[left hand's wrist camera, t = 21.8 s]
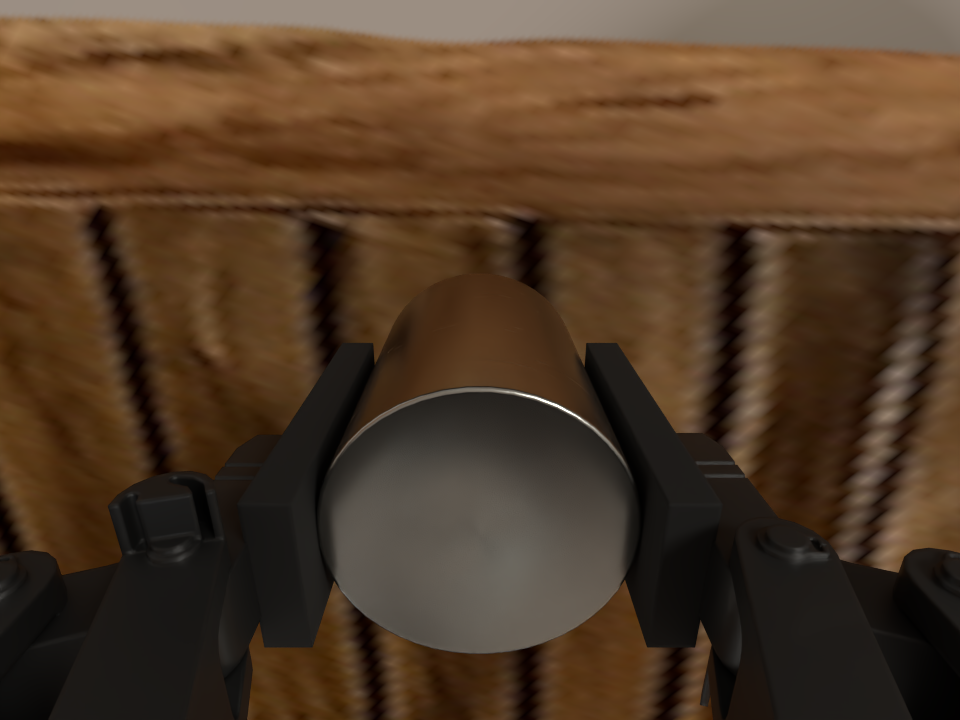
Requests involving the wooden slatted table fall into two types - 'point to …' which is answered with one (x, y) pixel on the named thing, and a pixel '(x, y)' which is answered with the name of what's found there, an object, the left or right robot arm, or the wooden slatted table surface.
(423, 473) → the canister
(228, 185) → the wooden slatted table surface
